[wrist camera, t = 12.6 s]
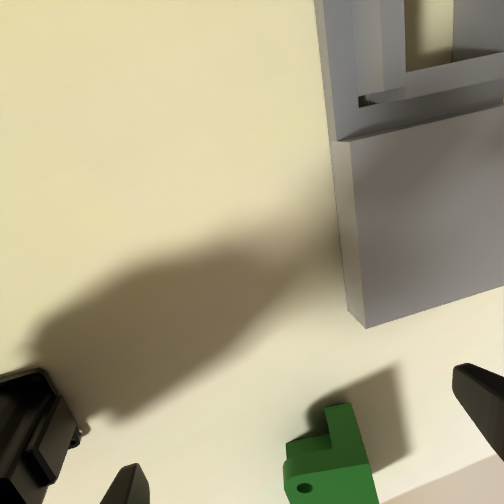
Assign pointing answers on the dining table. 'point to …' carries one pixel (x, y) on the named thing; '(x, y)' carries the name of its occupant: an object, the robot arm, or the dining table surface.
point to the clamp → (330, 464)
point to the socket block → (414, 157)
